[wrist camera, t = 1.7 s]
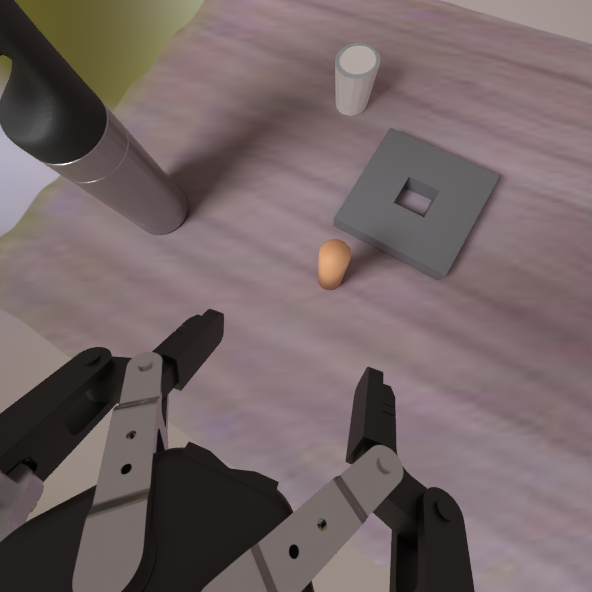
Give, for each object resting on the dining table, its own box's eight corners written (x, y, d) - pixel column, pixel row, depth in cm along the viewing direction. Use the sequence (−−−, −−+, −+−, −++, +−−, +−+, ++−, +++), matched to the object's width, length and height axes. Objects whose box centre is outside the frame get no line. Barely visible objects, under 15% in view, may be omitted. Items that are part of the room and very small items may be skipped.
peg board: (333, 225, 41) (334, 217, 38) (386, 139, 43) (390, 127, 41) (437, 280, 38) (445, 275, 36) (489, 185, 40) (500, 175, 38)
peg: (313, 282, 39) (313, 259, 29) (325, 263, 40) (329, 234, 29) (334, 294, 39) (341, 275, 28) (345, 274, 39) (356, 248, 28)
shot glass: (373, 88, 45) (383, 42, 38) (368, 120, 44) (377, 79, 37) (335, 85, 46) (338, 39, 39) (329, 117, 45) (331, 76, 38)
